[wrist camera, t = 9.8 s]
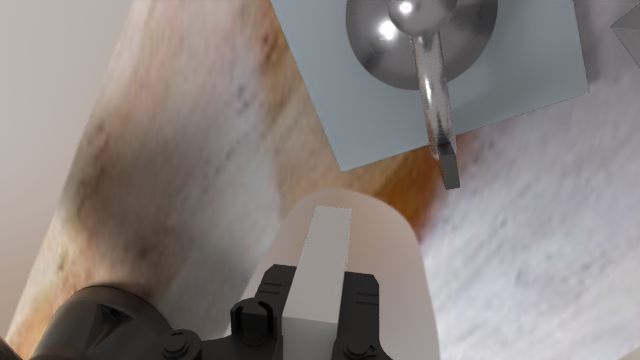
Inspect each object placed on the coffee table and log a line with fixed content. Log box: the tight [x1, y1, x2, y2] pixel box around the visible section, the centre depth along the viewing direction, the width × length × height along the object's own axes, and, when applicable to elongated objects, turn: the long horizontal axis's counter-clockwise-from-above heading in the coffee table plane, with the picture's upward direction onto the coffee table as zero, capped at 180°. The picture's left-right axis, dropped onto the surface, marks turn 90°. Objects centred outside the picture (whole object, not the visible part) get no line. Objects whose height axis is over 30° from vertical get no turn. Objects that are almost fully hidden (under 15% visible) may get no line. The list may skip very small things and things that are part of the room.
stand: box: [270, 0, 589, 172], centre depth 29 cm, size 20×22×4 cm
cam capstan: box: [345, 0, 498, 190], centre depth 26 cm, size 20×10×7 cm, turn 16°
